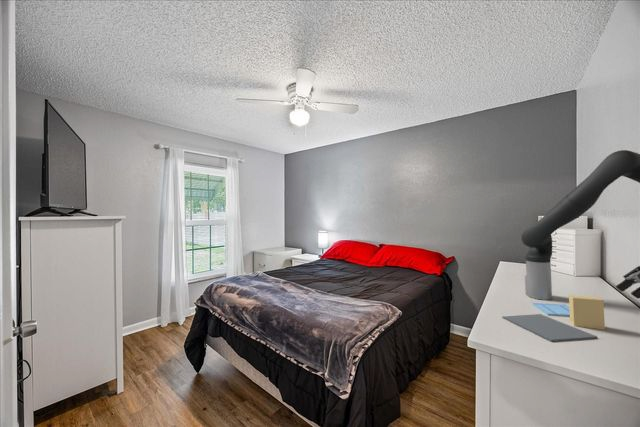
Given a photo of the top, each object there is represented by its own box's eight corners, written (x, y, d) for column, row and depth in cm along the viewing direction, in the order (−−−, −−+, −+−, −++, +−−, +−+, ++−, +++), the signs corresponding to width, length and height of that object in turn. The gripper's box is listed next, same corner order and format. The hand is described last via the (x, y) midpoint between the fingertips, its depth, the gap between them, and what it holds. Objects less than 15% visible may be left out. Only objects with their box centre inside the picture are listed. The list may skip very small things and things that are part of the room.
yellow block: (574, 326, 94) (572, 297, 95) (570, 322, 98) (568, 295, 98) (604, 329, 91) (603, 300, 91) (599, 325, 94) (598, 297, 94)
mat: (502, 318, 103) (502, 316, 103) (540, 315, 105) (540, 314, 105) (551, 341, 84) (550, 339, 84) (597, 338, 85) (597, 336, 85)
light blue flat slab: (585, 319, 101) (585, 315, 101) (547, 316, 105) (547, 313, 105) (565, 307, 114) (565, 304, 114) (532, 305, 118) (531, 302, 118)
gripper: (646, 249, 93) (603, 279, 98) (679, 254, 80) (627, 289, 85) (669, 265, 91) (624, 295, 95) (706, 273, 78) (652, 308, 82)
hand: (626, 292), depth 90 cm, fingers open, 8 cm apart
